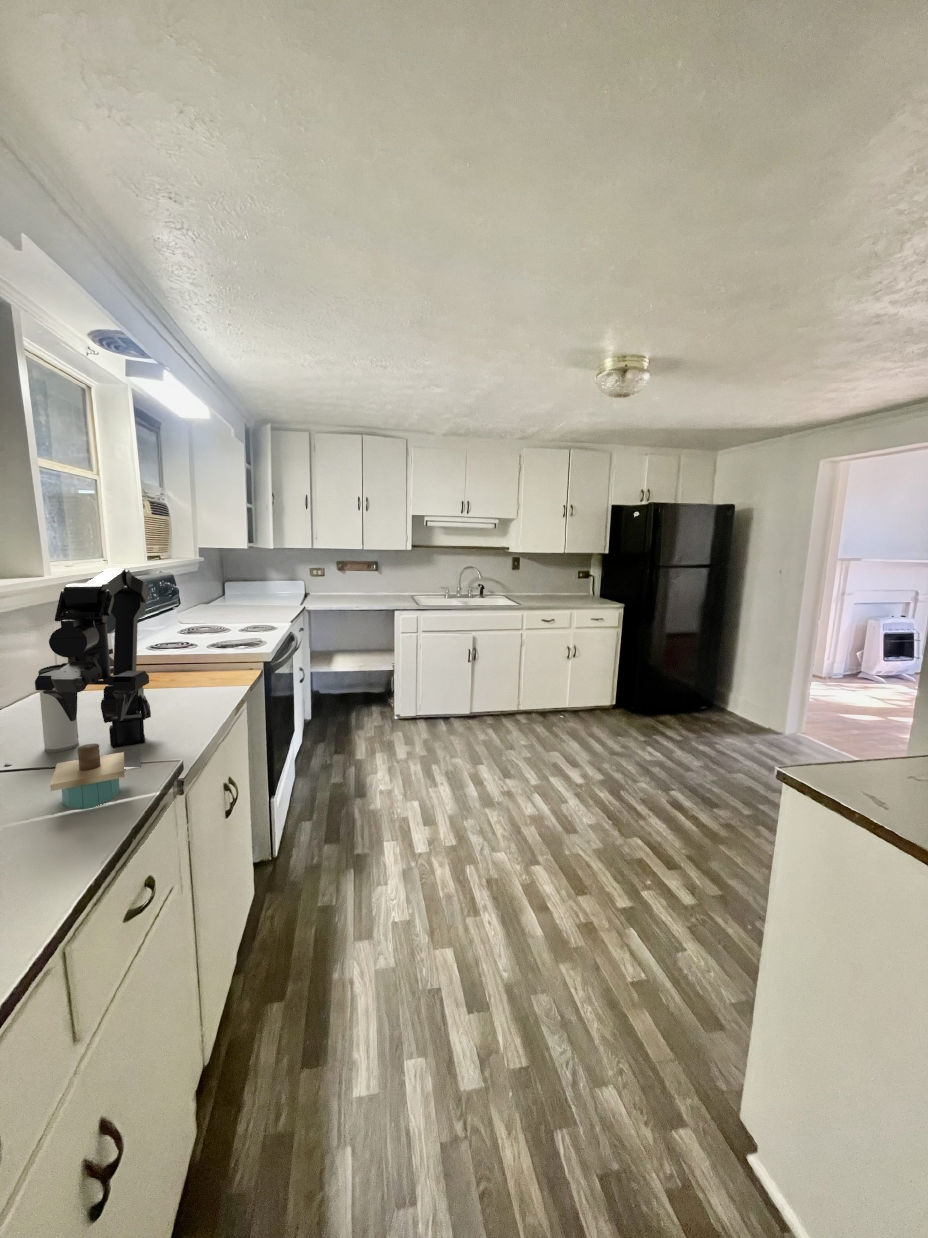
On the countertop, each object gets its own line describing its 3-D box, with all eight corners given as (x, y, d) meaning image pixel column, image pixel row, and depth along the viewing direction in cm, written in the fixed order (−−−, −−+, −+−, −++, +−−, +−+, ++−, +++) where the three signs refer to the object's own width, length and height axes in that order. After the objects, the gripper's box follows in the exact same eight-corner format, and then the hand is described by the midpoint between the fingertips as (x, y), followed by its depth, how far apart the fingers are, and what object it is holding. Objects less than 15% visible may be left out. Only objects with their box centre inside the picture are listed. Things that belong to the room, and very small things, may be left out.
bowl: (119, 784, 99) (118, 760, 98) (119, 801, 92) (117, 776, 91) (65, 794, 94) (63, 770, 93) (61, 814, 87) (59, 787, 86)
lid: (124, 757, 99) (122, 733, 99) (124, 777, 91) (122, 750, 90) (57, 769, 93) (55, 743, 93) (50, 791, 85) (48, 762, 84)
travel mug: (86, 744, 119) (81, 663, 116) (62, 754, 112) (55, 669, 110) (63, 742, 119) (57, 662, 117) (37, 753, 113) (30, 668, 110)
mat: (139, 751, 115) (139, 749, 115) (141, 769, 105) (141, 767, 105) (75, 762, 108) (74, 759, 108) (70, 782, 99) (70, 780, 98)
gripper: (7, 654, 89) (16, 736, 92) (115, 656, 91) (121, 735, 93) (52, 642, 100) (59, 715, 103) (148, 644, 102) (152, 715, 104)
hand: (97, 720), depth 100 cm, fingers open, 9 cm apart
